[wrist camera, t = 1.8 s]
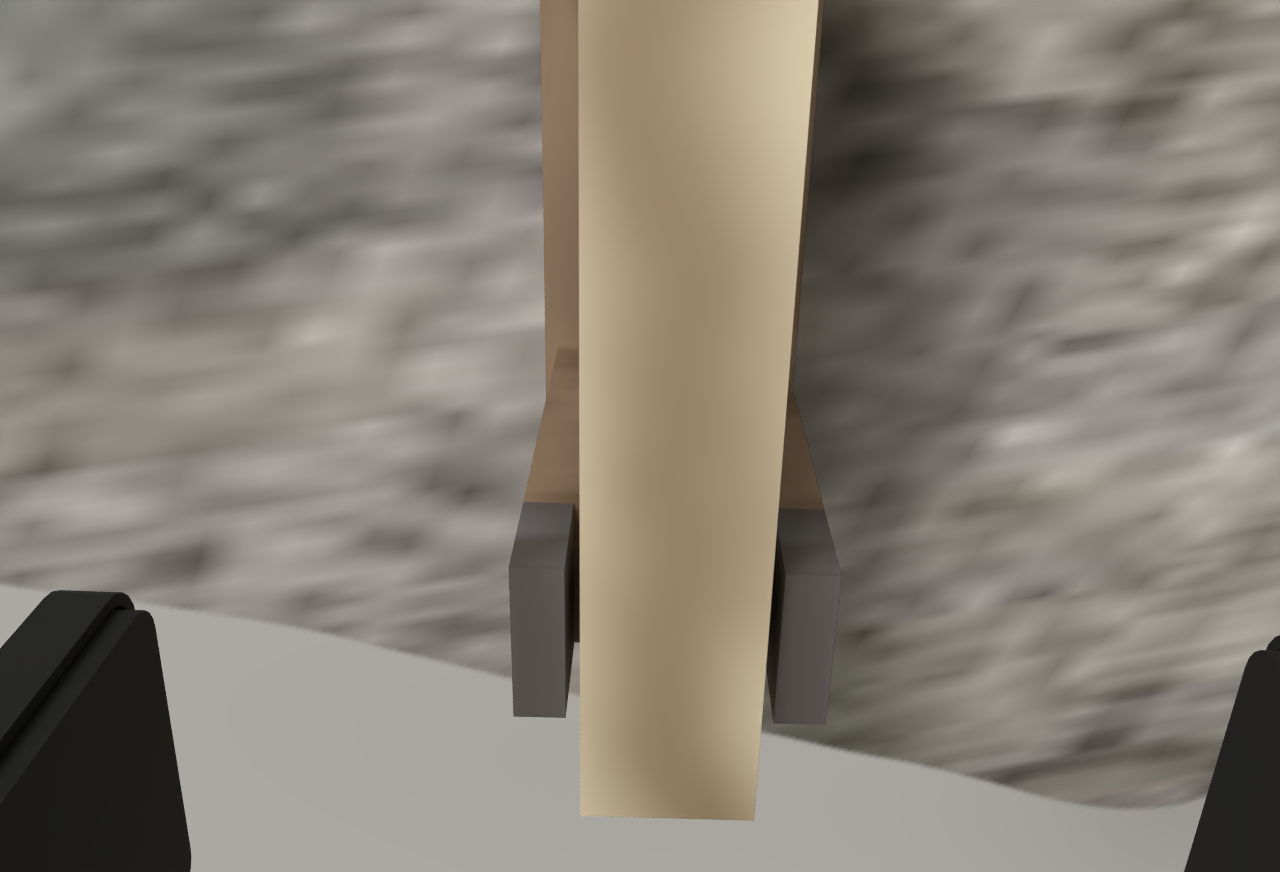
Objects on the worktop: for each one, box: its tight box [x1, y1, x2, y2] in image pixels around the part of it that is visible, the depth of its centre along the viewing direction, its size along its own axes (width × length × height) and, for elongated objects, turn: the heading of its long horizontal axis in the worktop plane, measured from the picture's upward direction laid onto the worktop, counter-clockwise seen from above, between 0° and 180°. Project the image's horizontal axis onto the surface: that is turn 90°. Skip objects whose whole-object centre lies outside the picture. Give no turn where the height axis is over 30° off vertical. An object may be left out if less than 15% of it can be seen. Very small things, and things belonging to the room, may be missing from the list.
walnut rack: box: [509, 0, 842, 725], centre depth 30 cm, size 8×24×15 cm, turn 179°
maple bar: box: [578, 0, 818, 820], centre depth 24 cm, size 4×24×4 cm, turn 179°
